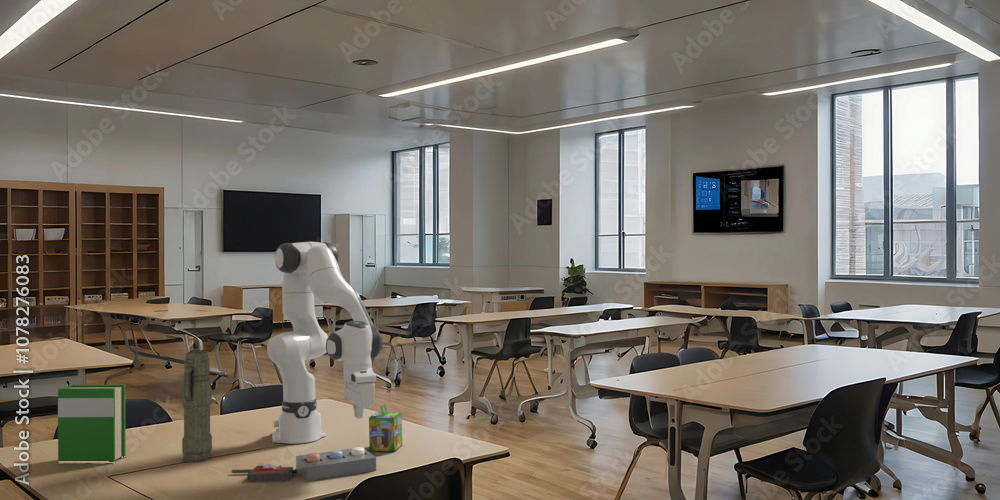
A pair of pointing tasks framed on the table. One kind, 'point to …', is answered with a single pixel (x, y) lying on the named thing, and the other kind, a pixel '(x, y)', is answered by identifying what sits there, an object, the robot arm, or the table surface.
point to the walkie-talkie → (268, 473)
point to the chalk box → (385, 431)
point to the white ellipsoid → (357, 451)
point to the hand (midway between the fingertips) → (358, 417)
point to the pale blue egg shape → (335, 454)
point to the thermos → (196, 407)
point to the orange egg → (312, 457)
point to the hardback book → (91, 423)
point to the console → (335, 465)
